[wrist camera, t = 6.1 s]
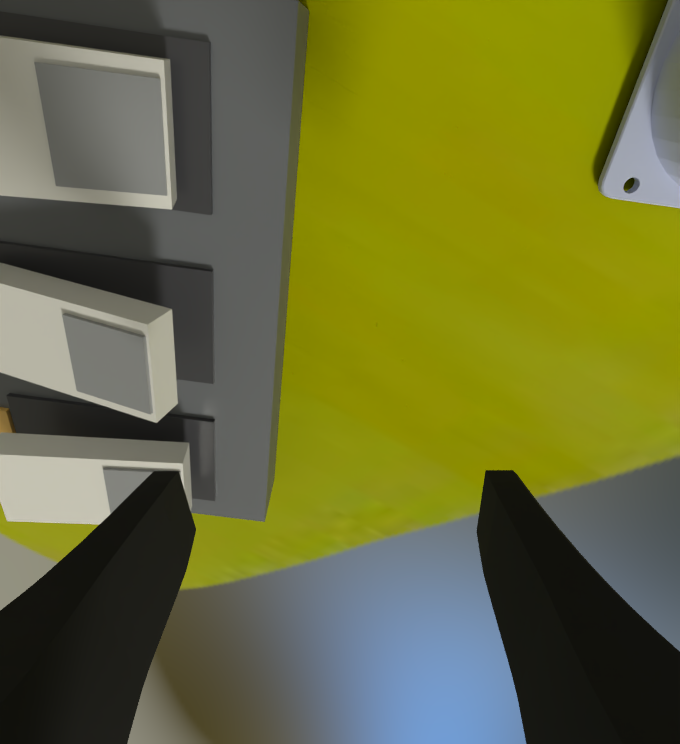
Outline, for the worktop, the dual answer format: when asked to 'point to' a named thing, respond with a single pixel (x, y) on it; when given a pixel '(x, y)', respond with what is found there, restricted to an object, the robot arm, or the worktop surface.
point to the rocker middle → (87, 343)
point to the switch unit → (185, 232)
